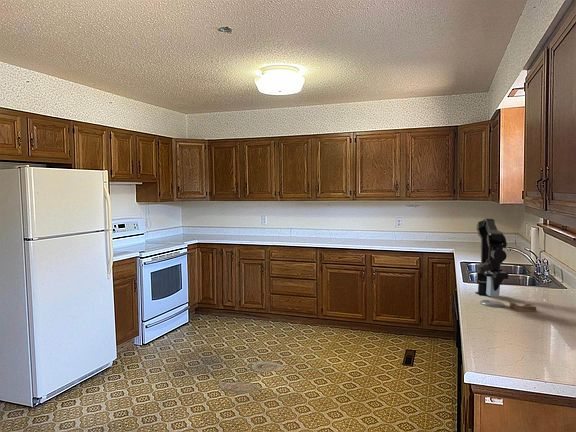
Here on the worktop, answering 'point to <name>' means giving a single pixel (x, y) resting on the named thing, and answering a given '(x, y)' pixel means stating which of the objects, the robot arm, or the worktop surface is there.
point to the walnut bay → (523, 307)
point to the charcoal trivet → (492, 303)
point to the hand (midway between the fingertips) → (492, 289)
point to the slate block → (491, 287)
